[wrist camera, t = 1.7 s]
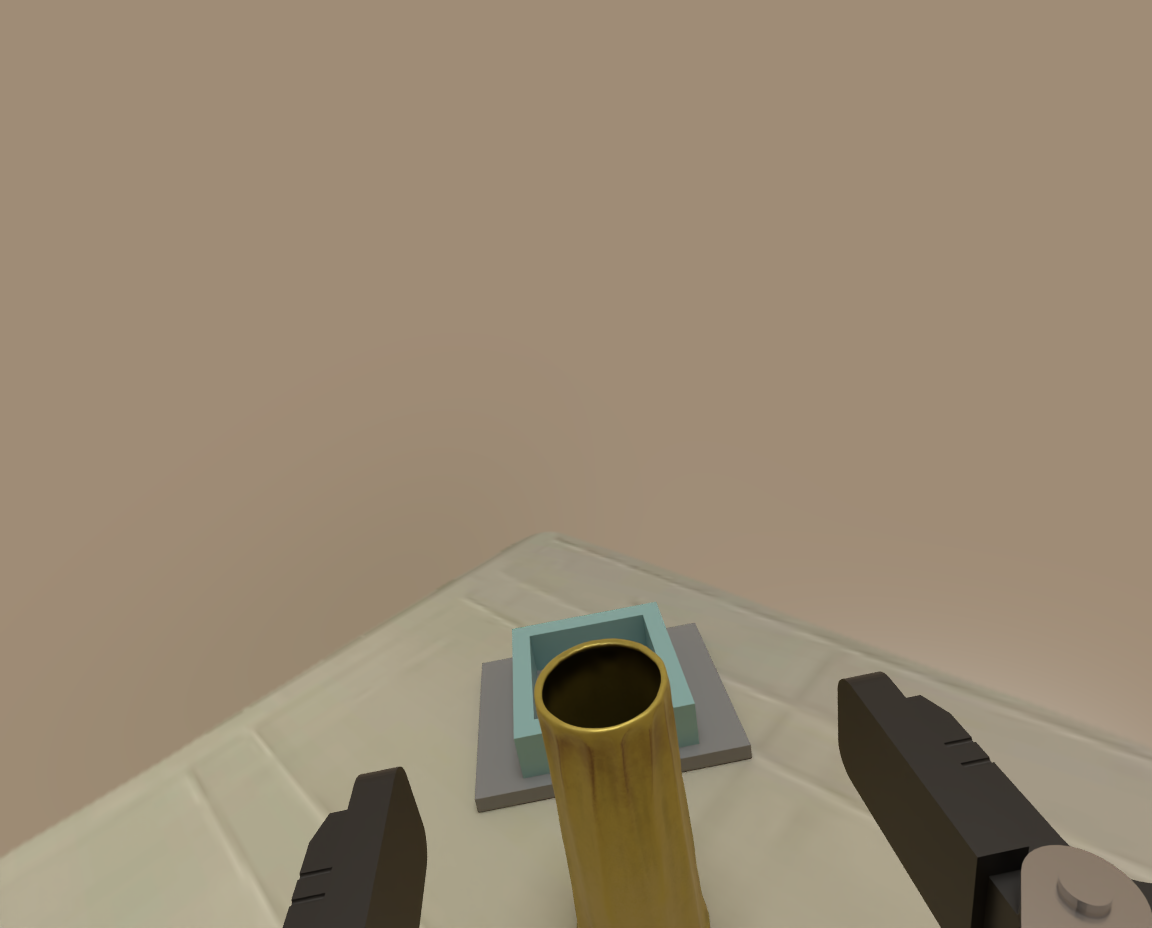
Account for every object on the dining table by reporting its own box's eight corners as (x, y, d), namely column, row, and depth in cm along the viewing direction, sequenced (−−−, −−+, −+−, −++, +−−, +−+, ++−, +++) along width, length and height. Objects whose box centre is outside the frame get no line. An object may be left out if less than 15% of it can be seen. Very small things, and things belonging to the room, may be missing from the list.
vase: (699, 858, 33) (671, 623, 27) (722, 996, 27) (692, 733, 22) (578, 868, 33) (528, 639, 28) (576, 1007, 28) (512, 751, 22)
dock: (478, 812, 37) (463, 759, 36) (484, 674, 48) (473, 629, 47) (751, 757, 38) (747, 704, 36) (696, 633, 49) (691, 588, 48)
